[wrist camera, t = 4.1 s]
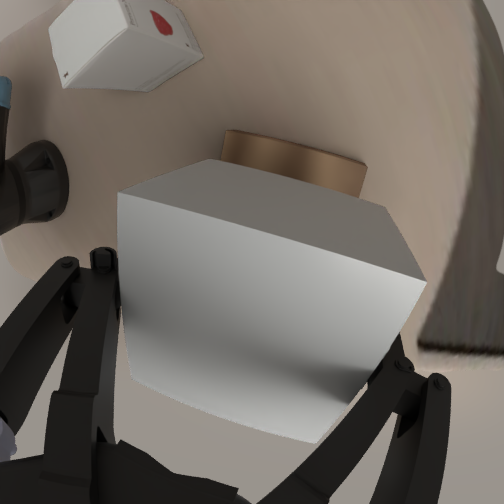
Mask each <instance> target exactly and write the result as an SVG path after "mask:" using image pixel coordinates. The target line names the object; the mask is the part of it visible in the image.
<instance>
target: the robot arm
mask: <svg viewBox="0 0 504 504" xmlns="http://www.w3.org/2000/svg"><path fill="white" fill-rule="evenodd" d="M11 90H12V83H11V81H10V79H9V78H7V77H4V76H0V235H2V234H4V233H6V232H8V231H10V230H12V229H13V228H15V227H17V226H19V225H21V224H26V223H41V222H48V221H51V220H53V219H55V218H57V217H59V216H60V215H61V214H62V213H63V211H64V209H65V207H66V204H67V200H68V192H69V183H68V175H67V170H66V166H65V163H64V160H63V158H62V155H61V153H60V152H59V150H58V149H57V147H56V146H55V145H54V144H52V143H51V142H49V141H46V140H42V141H38V142H34V143H31V144H29V145H28V146H26V147H25V148H23V149H22V150H21V151H19V152H18V153H16V154H15V155H14V156H12V157H11V158H10V159H8V160H5V147H6V133H7V124H8V116H9V109H10V108H11V106H10V98H11ZM90 262H91V269H89V268H83V267H80V266H79V260H78V259H77V258H75V257H70V256H67V257H63V258H60V259H59V260H57V261H56V262H55V263H54V264H53V265H52V266H51V268H50V269H49V270H48V271H47V272H46V273H45V274H44V275H43V276H42V277H41V279H40V280H39V281H38V282H37V283H36V284H35V285H34V287H33V288H32V289H31V290H30V291H29V292H28V294H27V295H26V296H25V297H24V298H23V300H22V301H21V302H20V303H19V304H18V306H17V307H16V308H15V310H14V311H13V312H12V313H11V314H10V316H9V317H8V318H7V320H6V321H5V322H4V323H3V325H2V326H1V327H0V504H251V503H250V502H249V501H247V500H246V499H245V498H243V497H242V496H240V495H238V494H237V492H238V488H236V487H232V486H229V485H226V484H222V483H219V482H216V481H213V480H210V479H207V478H200V477H192V476H186V475H181V474H176V473H173V472H171V471H170V470H168V469H167V468H166V467H164V466H163V465H162V464H160V463H159V462H158V461H156V460H155V459H154V458H152V457H151V456H150V455H149V454H147V453H145V452H144V451H142V450H140V449H138V448H136V447H134V446H132V445H130V444H128V443H126V442H124V441H122V440H120V441H119V442H118V444H116V442H115V437H114V428H113V418H114V413H113V412H114V384H115V368H116V354H117V343H118V334H119V324H120V317H121V308H120V306H121V296H120V283H119V267H118V258H117V253H116V251H115V250H114V249H112V248H110V247H99V248H95V249H94V250H92V251H91V252H90ZM72 328H73V329H72ZM71 330H72V334H71V337H70V341H69V345H68V349H67V354H66V358H65V363H64V367H63V373H62V378H61V383H60V388H59V390H58V391H53V393H52V395H51V399H50V405H49V411H48V418H47V426H46V434H45V444H44V454H42V455H38V456H32V457H27V458H22V459H16V460H10V456H11V455H14V454H15V453H16V451H17V447H16V444H15V435H16V434H17V432H18V431H19V429H20V428H21V426H22V425H23V422H24V421H25V419H26V417H27V415H28V412H29V410H30V408H31V406H32V404H33V401H34V399H35V397H36V395H37V393H38V391H39V389H40V387H41V385H42V383H43V381H44V379H45V377H46V375H47V373H48V371H49V369H50V367H51V365H52V364H53V362H54V360H55V358H56V356H57V354H58V352H59V350H60V349H61V347H62V345H63V343H64V342H65V340H66V338H67V337H68V335H69V333H70V331H71ZM414 370H415V369H414V365H413V364H412V362H411V361H410V360H409V359H408V358H407V357H405V355H404V350H403V345H402V340H401V335H400V332H399V333H398V335H397V336H396V338H395V340H394V341H393V343H392V344H391V346H390V348H389V349H388V351H387V352H386V354H385V355H384V357H383V358H382V360H381V361H380V363H379V364H378V366H377V367H376V369H375V370H374V371H373V373H372V374H371V376H370V377H369V378H368V380H367V381H366V382H367V384H368V389H367V390H366V391H365V393H364V394H363V395H362V397H361V398H360V399H359V401H358V402H357V403H356V404H355V405H354V407H353V408H352V409H351V411H350V412H349V413H348V414H347V415H346V416H345V418H344V419H343V420H342V421H341V422H340V424H339V425H338V426H337V427H336V428H335V429H334V431H332V433H331V434H330V435H329V436H328V437H327V438H326V439H325V440H324V441H323V442H322V443H321V444H320V446H319V447H318V448H317V449H316V450H315V451H314V452H313V453H312V454H311V455H310V456H309V457H308V458H307V459H306V460H305V461H304V462H303V463H302V464H301V465H300V466H299V467H298V468H297V469H296V470H295V471H294V472H292V473H291V474H290V475H289V476H288V477H287V478H286V479H285V480H284V481H283V482H281V483H280V484H279V485H278V486H277V487H276V488H275V489H273V490H272V491H271V492H270V493H269V494H268V495H266V496H265V497H264V498H263V499H262V500H260V501H259V502H258V503H257V504H328V503H329V498H330V497H331V496H332V494H333V493H334V492H335V491H336V489H337V488H338V487H339V486H340V485H341V484H342V482H343V481H344V480H345V479H346V478H347V476H348V475H349V474H350V472H351V471H352V470H353V469H354V467H355V466H356V465H357V463H358V462H359V461H360V459H361V458H362V457H363V455H364V454H365V453H366V451H367V450H368V448H369V447H370V445H371V444H372V443H373V441H374V440H375V438H376V437H377V435H378V434H379V432H380V431H381V429H382V428H383V426H384V425H385V423H386V421H387V420H388V418H389V417H390V415H391V413H392V412H395V413H397V414H398V416H397V420H396V424H395V428H394V432H393V436H392V439H391V442H390V446H389V450H388V453H387V456H386V459H385V462H384V465H383V468H382V471H381V474H380V477H379V480H378V483H377V485H376V488H375V491H374V494H373V496H372V498H371V501H370V503H369V504H437V503H438V498H439V494H440V490H441V484H442V479H443V474H444V468H445V461H446V454H447V447H448V437H449V426H450V411H451V409H450V408H451V384H450V383H449V381H448V379H447V378H446V377H445V376H443V375H442V374H439V373H432V374H431V375H430V376H429V377H428V378H425V377H423V376H421V375H419V374H417V373H416V372H414ZM365 384H366V383H365ZM365 384H364V385H365ZM364 385H363V387H364ZM363 387H362V388H363ZM362 388H361V389H362Z"/></svg>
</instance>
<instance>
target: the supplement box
mask: <svg viewBox="0 0 504 504" xmlns="http://www.w3.org/2000/svg"><path fill="white" fill-rule="evenodd" d="M48 31H49V35H50V40H51V44H52V51H53V58H54V60H55V62H56V65H57V69H58V73H59V77H60V80H61V84H62V87H63V88H94V89H116V90H131V91H142V92H150V91H152V90H153V89H154V88H156V87H157V86H159V85H160V84H162V83H163V82H165V81H166V80H168V79H170V78H171V77H173V76H174V75H176V74H177V73H179V72H181V71H182V70H184V69H186V68H187V67H189V66H191V65H192V64H194V63H196V62H198V61H199V60H201V59H203V58H204V56H203V54H202V52H201V50H200V48H199V45H198V43H197V41H196V39H195V37H194V35H193V33H192V31H191V29H190V27H189V25H188V23H187V21H186V19H185V17H184V15H183V13H182V11H181V10H180V9H178V8H177V7H175V6H173V5H171V4H170V3H168V2H166V1H165V0H74V1H73V2H72V3H71V4H70V5H69V6H68V7H67V8H66V9H65V10H64V11H63V12H62V13H61V14H60V15H59V16H58V18H57V19H56V20H55V21H54V22H53V23H52V24H51V26H50V27H49V28H48Z"/></svg>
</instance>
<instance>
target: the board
mask: <svg viewBox="0 0 504 504" xmlns="http://www.w3.org/2000/svg"><path fill="white" fill-rule="evenodd" d="M221 161H223V162H228V163H232V164H237V165H241V166H245V167H250V168H254V169H258V170H262V171H266V172H270V173H274V174H278V175H281V176H285V177H289V178H293V179H296V180H300V181H304V182H307V183H311V184H314V185H318V186H321V187H324V188H328V189H331V190H334V191H338V192H341V193H344V194H347V195H350V196H354V197H357V198H359V195H360V191H361V188H362V185H363V181H364V178H365V175H366V171H367V168H368V167H367V166H366V165H365V163H362V162H359V161H356V160H352V159H349V158H346V157H343V156H340V155H336V154H333V153H329V152H326V151H323V150H319V149H315V148H312V147H308V146H304V145H300V144H297V143H293V142H289V141H284V140H280V139H276V138H272V137H267V136H263V135H258V134H253V133H249V132H244V131H239V130H226V133H225V138H224V144H223V149H222V155H221Z"/></svg>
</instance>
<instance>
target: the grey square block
mask: <svg viewBox="0 0 504 504" xmlns="http://www.w3.org/2000/svg"><path fill="white" fill-rule="evenodd" d="M117 242H118V267H119V283H120V296H121V307H122V316H123V325H124V333H125V340H126V347H127V354H128V360H129V366H130V372H131V378H132V380H134V381H136V382H138V383H140V384H143V385H144V386H146V387H148V388H151V389H153V390H155V391H157V392H159V393H161V394H163V395H166V396H168V397H171V398H173V399H175V400H177V401H180V402H182V403H184V404H187V405H189V406H192V407H194V408H197V409H199V410H202V411H204V412H207V413H210V414H213V415H215V416H218V417H221V418H224V419H227V420H230V421H233V422H236V423H239V424H242V425H245V426H249V427H252V428H255V429H258V430H262V431H265V432H269V433H273V434H276V435H280V436H284V437H288V438H292V439H296V440H301V441H305V442H310V443H316V442H317V441H318V440H319V439H320V438H321V437H322V436H323V435H324V434H325V432H326V431H327V430H328V429H329V428H330V427H331V425H332V424H333V423H334V422H335V421H336V420H337V418H338V417H339V416H340V415H341V414H342V412H343V411H344V410H345V409H346V407H347V406H348V405H349V403H350V402H351V401H352V400H353V399H354V397H355V396H356V395H357V393H358V392H359V390H360V389H361V388H362V387H363V385H364V384H365V383H366V381H367V380H368V378H369V377H370V376H371V374H372V373H373V371H374V370H375V369H376V367H377V366H378V364H379V363H380V361H381V360H382V358H383V357H384V355H385V354H386V352H387V351H388V349H389V348H390V346H391V344H392V343H393V341H394V340H395V338H396V336H397V335H398V333H399V332H400V330H401V328H402V327H403V325H404V323H405V322H406V320H407V318H408V316H409V315H410V313H411V311H412V309H413V308H414V306H415V304H416V302H417V300H418V298H419V297H420V295H421V293H422V291H423V289H424V287H425V285H426V283H427V281H426V279H425V277H424V275H423V273H422V271H421V269H420V267H419V265H418V263H417V262H416V260H415V258H414V256H413V254H412V252H411V250H410V249H409V247H408V245H407V243H406V241H405V240H404V238H403V236H402V234H401V233H400V231H399V229H398V228H397V226H396V224H395V223H394V221H393V219H392V218H391V216H390V214H389V213H388V211H387V209H386V208H385V207H383V206H381V205H378V204H375V203H372V202H369V201H366V200H363V199H360V198H357V197H354V196H350V195H347V194H344V193H341V192H338V191H334V190H331V189H328V188H324V187H321V186H318V185H314V184H311V183H307V182H304V181H300V180H296V179H293V178H289V177H285V176H281V175H278V174H274V173H270V172H266V171H262V170H258V169H254V168H250V167H245V166H241V165H237V164H232V163H228V162H223V161H219V160H214V159H207V160H203V161H200V162H197V163H194V164H191V165H188V166H185V167H182V168H180V169H177V170H174V171H171V172H168V173H165V174H163V175H160V176H157V177H154V178H152V179H149V180H146V181H144V182H141V183H139V184H136V185H134V186H131V187H129V188H126V189H124V190H121V191H119V192H118V198H117Z"/></svg>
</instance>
